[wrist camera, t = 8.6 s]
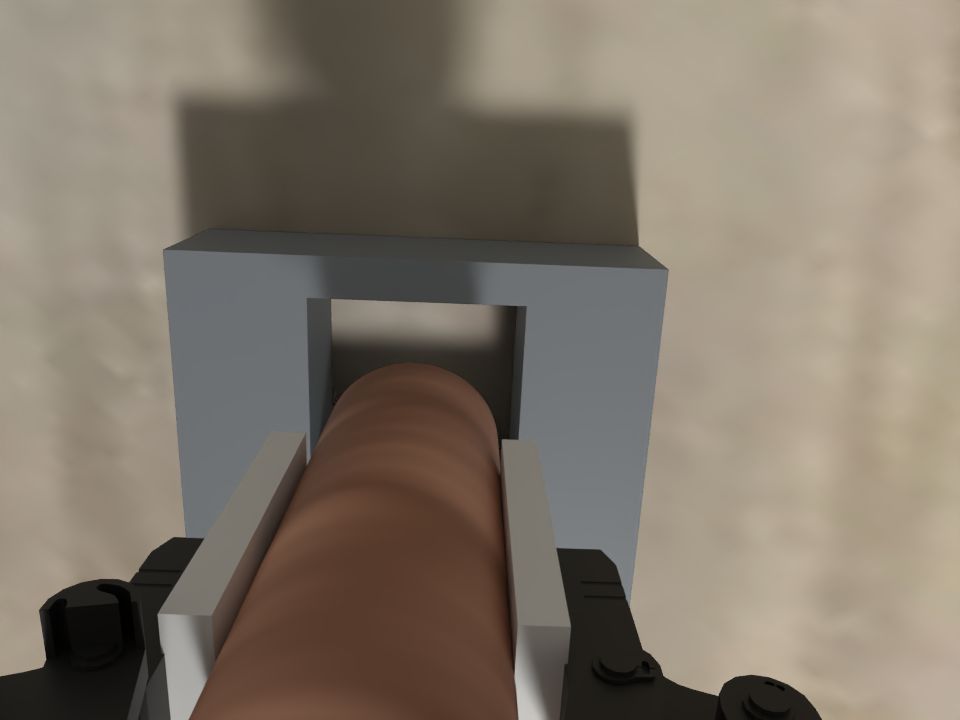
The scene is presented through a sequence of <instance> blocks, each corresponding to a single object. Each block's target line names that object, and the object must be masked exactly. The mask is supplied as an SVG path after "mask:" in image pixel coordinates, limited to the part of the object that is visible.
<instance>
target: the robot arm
mask: <svg viewBox="0 0 960 720" xmlns="http://www.w3.org/2000/svg"><path fill="white" fill-rule="evenodd" d="M306 467H307V449H306V432H284V431H271V433H270V434H269V436H268V438H267V439H266V441H265V442H264V444H263V446H262V447H261V449H260V450H259V452H258V454H257V455H256V457H255V458H254V460H253V462H252V463H251V465H250V466H249V468H248V470H247V471H246V473H245V474H244V476H243V478H242V479H241V481H240V482H239V484H238V486H237V487H236V489H235V490H234V492H233V494H232V495H231V497H230V498H229V500H228V502H227V503H226V505H225V507H224V508H223V510H222V511H221V513H220V515H219V516H218V518H217V519H216V521H215V523H214V524H213V526H212V527H211V529H210V531H209V532H208V534H207V535H206V537H205V538H182V537H173V538H172V539H170V540H169V541H167V542H166V543H164V544H163V545H161V546H160V547H158V548H157V549H155V550H154V551H152V552H151V553H150V555H149V556H148V557H147V559H146V560H145V562H144V563H143V564H142V566H141V567H140V568H139V572H137V573H136V574H135V575H134V577H133V578H132V579H131V581H130V582H125V581H122V580H119V579H98V580H93V581H87V582H82V583H79V584H76V585H74V586H71V587H68V588H66V589H63V590H62V591H60V592H58V593H57V594H55V595H54V596H52V597H51V598H49V599H48V600H47V601H46V602H45V604H44V605H43V606H42V607H41V608H40V610H39V613H40V619H41V626H42V632H43V639H44V646H45V652H46V659H47V660H46V662H45V664H44V667H42V668H39V669H35V670H31V671H27V672H23V673H17V674H12V675H6V676H1V677H0V720H189V718H190V716H191V714H192V711H193V709H194V707H195V705H196V703H197V701H198V699H199V696H200V694H201V692H202V690H203V688H204V686H205V684H206V681H207V679H208V677H209V675H210V673H211V671H212V669H213V666H214V664H215V662H216V660H217V658H218V656H219V654H220V651H221V649H222V647H223V645H224V643H225V641H226V638H227V636H228V634H229V632H230V630H231V628H232V626H233V623H234V621H235V619H236V617H237V615H238V613H239V611H240V608H241V606H242V604H243V602H244V600H245V598H246V596H247V593H248V591H249V589H250V587H251V585H252V583H253V580H254V578H255V576H256V574H257V572H258V570H259V568H260V565H261V563H262V561H263V559H264V557H265V555H266V553H267V550H268V548H269V546H270V544H271V542H272V540H273V538H274V535H275V533H276V531H277V529H278V527H279V525H280V523H281V520H282V518H283V516H284V514H285V512H286V510H287V507H288V505H289V503H290V501H291V499H292V497H293V495H294V492H295V490H296V488H297V486H298V484H299V482H300V480H301V477H302V475H303V473H304V471H305V469H306ZM500 484H501V498H502V512H503V526H504V540H505V554H506V568H507V582H508V596H509V610H510V624H511V638H512V652H513V666H514V679H515V684H516V692H517V705H518V719H519V720H822V719H821V717H820V716H819V714H818V712H817V711H816V709H815V708H814V706H813V705H812V704H811V703H810V702H809V701H808V699H807V698H806V697H805V696H804V695H803V694H801V693H800V692H798V691H797V690H795V689H794V688H792V687H791V686H789V685H788V684H785V683H783V682H780V681H777V680H775V679H772V678H770V677H763V676H756V675H746V676H739V677H735V678H733V679H731V680H729V681H728V682H726V683H724V685H723V687H722V689H721V691H720V693H719V696H716V695H712V694H708V693H704V692H700V691H697V690H693V689H690V688H687V687H684V686H681V685H678V684H676V683H674V682H673V681H671V680H669V679H667V678H665V677H664V676H663V673H662V670H661V667H660V665H659V664H658V662H657V661H656V660H655V659H654V658H653V657H652V656H651V655H650V654H649V653H647V652H646V651H644V650H643V649H642V646H641V643H640V640H639V636H638V633H637V630H636V627H635V624H634V620H633V617H632V614H631V611H630V608H629V604H628V601H627V600H626V595H625V592H624V588H623V586H622V582H621V579H620V575H619V572H618V569H617V566H616V564H615V563H614V562H613V561H612V560H611V559H610V558H609V557H608V556H607V555H606V554H605V553H604V552H603V551H602V550H601V549H573V548H556V544H555V539H554V533H553V528H552V523H551V517H550V512H549V507H548V501H547V496H546V491H545V485H544V480H543V475H542V469H541V464H540V459H539V453H538V448H537V443H536V441H534V440H507V439H502V448H501V466H500Z"/></svg>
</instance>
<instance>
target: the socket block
mask: <svg viewBox="0 0 960 720" xmlns="http://www.w3.org/2000/svg"><path fill="white" fill-rule="evenodd" d="M163 257H164V270H165V282H166V295H167V307H168V320H169V332H170V345H171V357H172V370H173V382H174V395H175V407H176V420H177V432H178V445H179V458H180V470H181V483H182V495H183V508H184V520H185V533H186V538H205V537H206V535H207V534H208V532H209V531H210V529H211V527H212V526H213V524H214V523H215V521H216V519H217V518H218V516H219V515H220V513H221V511H222V510H223V508H224V507H225V505H226V503H227V502H228V500H229V498H230V497H231V495H232V494H233V492H234V490H235V489H236V487H237V486H238V484H239V482H240V481H241V479H242V478H243V476H244V474H245V473H246V471H247V470H248V468H249V466H250V465H251V463H252V462H253V460H254V458H255V457H256V455H257V454H258V452H259V450H260V449H261V447H262V446H263V444H264V442H265V441H266V439H267V438H268V436H269V434H270V433H271V431H284V432H306V449H307V465H308V462H309V460H310V458H311V456H312V454H313V452H314V449H315V447H316V445H317V443H318V441H319V439H320V437H321V434H322V432H323V430H324V428H325V426H326V424H327V422H328V419H329V417H330V415H331V413H332V411H333V398H332V333H331V299H351V300H377V301H403V302H429V303H455V304H481V305H508V306H517V311H516V328H515V346H514V363H513V380H512V397H511V415H510V432H509V440H534V441H536V443H537V448H538V453H539V459H540V464H541V469H542V475H543V480H544V485H545V491H546V496H547V501H548V507H549V512H550V517H551V523H552V528H553V533H554V539H555V544H556V548H573V549H601V550H602V551H603V552H604V553H605V554H606V555H607V556H608V557H609V558H610V559H611V560H612V561H613V562H614V563H615V564H616V566H617V569H618V572H619V575H620V579H621V582H622V586H623V588H624V592H625V595H626V600H627V601H628V604H629V608H630V599H631V590H632V582H633V573H634V565H635V556H636V547H637V539H638V530H639V522H640V513H641V504H642V496H643V487H644V479H645V470H646V461H647V453H648V444H649V435H650V427H651V418H652V410H653V401H654V392H655V384H656V375H657V367H658V358H659V349H660V341H661V332H662V324H663V315H664V306H665V298H666V289H667V281H668V272H669V270H668V269H667V268H666V267H665V266H663V265H662V264H661V263H660V262H658V261H657V260H656V259H655V258H653V257H652V256H651V255H650V254H648V253H647V252H646V251H645V250H643V249H642V248H641V247H639V246H620V245H595V244H570V243H545V242H520V241H496V240H471V239H446V238H421V237H396V236H371V235H347V234H322V233H297V232H272V231H247V230H223V229H208V230H206V231H203V232H201V233H199V234H197V235H194V236H192V237H190V238H188V239H186V240H183V241H181V242H179V243H177V244H175V245H172V246H170V247H168V248H166V249H163ZM499 460H500V466H501V449H499Z"/></svg>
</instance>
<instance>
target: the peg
mask: <svg viewBox="0 0 960 720" xmlns="http://www.w3.org/2000/svg"><path fill="white" fill-rule="evenodd" d="M189 720H519V719H518V705H517V692H516V684H515V679H514V666H513V652H512V638H511V624H510V610H509V596H508V582H507V568H506V554H505V540H504V526H503V512H502V498H501V484H500V460H499V446H498V435H497V429H496V424H495V421H494V418H493V415H492V413H491V411H490V409H489V407H488V405H487V404H486V402H485V401H484V399H483V398H482V396H481V395H480V394H479V393H478V392H477V391H476V389H475V388H473V387H472V386H471V385H470V384H469V383H468V382H467V381H465V380H464V379H462V378H461V377H459V376H458V375H456V374H454V373H452V372H450V371H448V370H445V369H443V368H440V367H437V366H433V365H429V364H423V363H398V364H392V365H388V366H384V367H381V368H378V369H376V370H373V371H371V372H369V373H367V374H366V375H364V376H362V377H361V378H359V379H358V380H357V381H355V382H354V383H353V384H352V385H351V386H350V387H349V388H348V389H347V390H346V391H345V392H344V393H343V394H342V396H341V397H340V398H339V400H338V401H337V403H336V405H335V407H334V409H333V411H332V413H331V415H330V417H329V419H328V422H327V424H326V426H325V428H324V430H323V432H322V434H321V437H320V439H319V441H318V443H317V445H316V447H315V449H314V452H313V454H312V456H311V458H310V460H309V462H308V465H307V467H306V469H305V471H304V473H303V475H302V477H301V480H300V482H299V484H298V486H297V488H296V490H295V492H294V495H293V497H292V499H291V501H290V503H289V505H288V507H287V510H286V512H285V514H284V516H283V518H282V520H281V523H280V525H279V527H278V529H277V531H276V533H275V535H274V538H273V540H272V542H271V544H270V546H269V548H268V550H267V553H266V555H265V557H264V559H263V561H262V563H261V565H260V568H259V570H258V572H257V574H256V576H255V578H254V580H253V583H252V585H251V587H250V589H249V591H248V593H247V596H246V598H245V600H244V602H243V604H242V606H241V608H240V611H239V613H238V615H237V617H236V619H235V621H234V623H233V626H232V628H231V630H230V632H229V634H228V636H227V638H226V641H225V643H224V645H223V647H222V649H221V651H220V654H219V656H218V658H217V660H216V662H215V664H214V666H213V669H212V671H211V673H210V675H209V677H208V679H207V681H206V684H205V686H204V688H203V690H202V692H201V694H200V696H199V699H198V701H197V703H196V705H195V707H194V709H193V711H192V714H191V716H190V718H189Z"/></svg>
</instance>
